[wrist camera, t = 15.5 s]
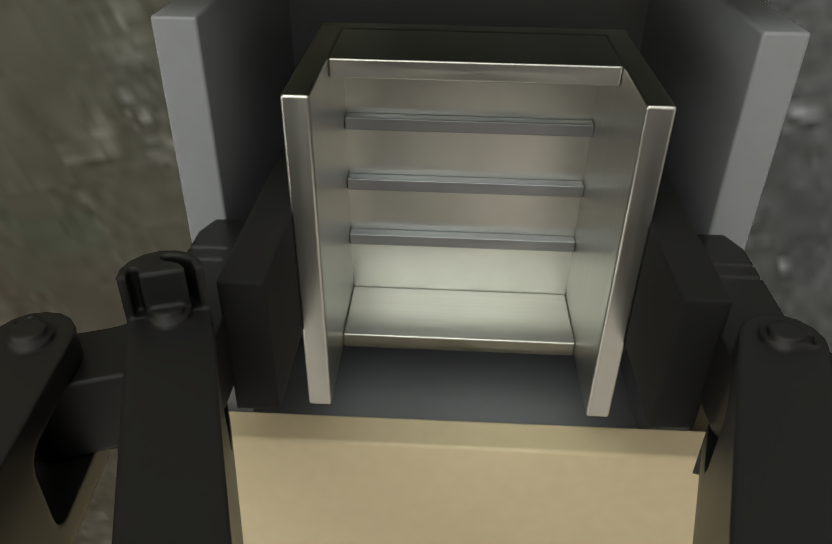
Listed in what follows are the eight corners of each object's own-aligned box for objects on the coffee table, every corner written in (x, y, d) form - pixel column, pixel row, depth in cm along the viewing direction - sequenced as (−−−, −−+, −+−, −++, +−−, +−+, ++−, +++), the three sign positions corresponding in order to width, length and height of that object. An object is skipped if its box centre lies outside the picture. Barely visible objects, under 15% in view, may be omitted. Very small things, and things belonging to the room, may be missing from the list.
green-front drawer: (195, -412, 16) (-39, -595, 8) (784, -409, 15) (1092, -598, 8) (273, 274, 26) (199, 471, 18) (634, 288, 25) (707, 494, 18)
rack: (337, 286, 20) (308, 404, 16) (322, 21, 16) (278, 94, 12) (580, 296, 19) (608, 418, 16) (625, 29, 15) (677, 107, 12)
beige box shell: (256, 205, 25) (144, 434, 16) (657, 218, 25) (773, 461, 16) (291, 490, 33) (229, 748, 24) (593, 504, 33) (645, 772, 24)
